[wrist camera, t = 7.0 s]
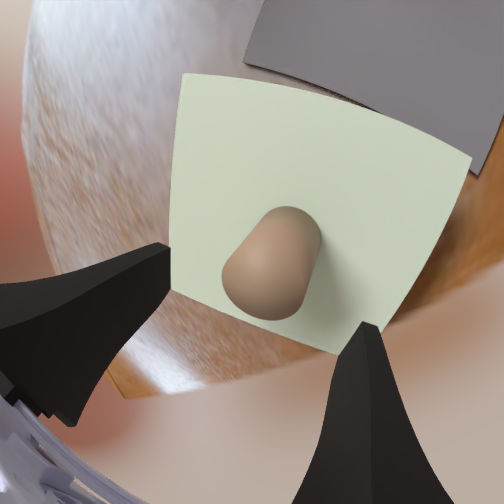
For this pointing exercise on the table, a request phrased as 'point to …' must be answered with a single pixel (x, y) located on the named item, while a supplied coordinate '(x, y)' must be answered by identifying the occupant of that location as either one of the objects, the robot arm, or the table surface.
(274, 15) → the mat
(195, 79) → the cover
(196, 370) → the table surface
